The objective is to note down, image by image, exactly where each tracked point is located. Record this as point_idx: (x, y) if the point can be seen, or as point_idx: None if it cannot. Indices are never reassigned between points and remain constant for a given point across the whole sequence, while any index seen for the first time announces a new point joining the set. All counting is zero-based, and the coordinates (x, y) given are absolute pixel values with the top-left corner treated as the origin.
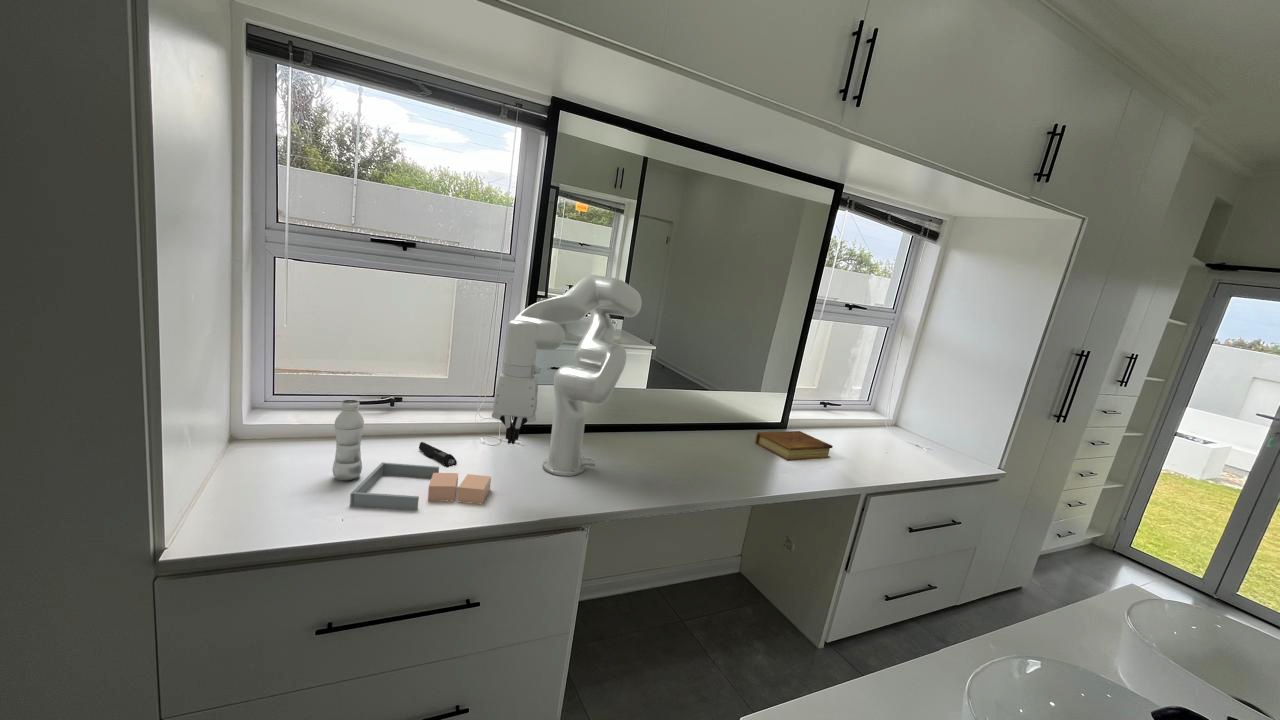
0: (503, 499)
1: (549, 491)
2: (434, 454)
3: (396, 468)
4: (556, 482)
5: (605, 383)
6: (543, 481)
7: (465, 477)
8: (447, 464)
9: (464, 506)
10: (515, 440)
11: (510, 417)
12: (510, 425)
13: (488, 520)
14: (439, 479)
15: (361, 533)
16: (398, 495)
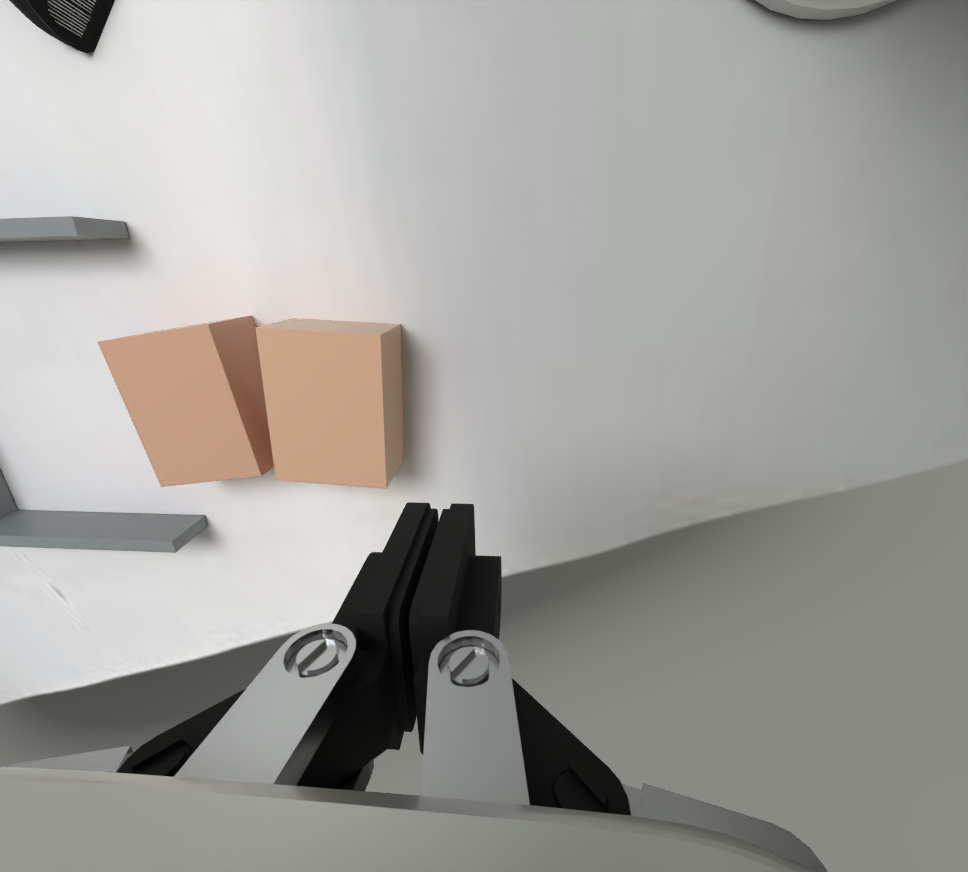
0: (479, 410)
1: (700, 289)
2: None
3: None
4: (759, 147)
5: None
6: (675, 149)
7: (262, 373)
8: (74, 43)
9: None
10: (473, 509)
11: (289, 772)
12: (369, 757)
13: None
14: (164, 414)
15: (149, 647)
16: (106, 542)
